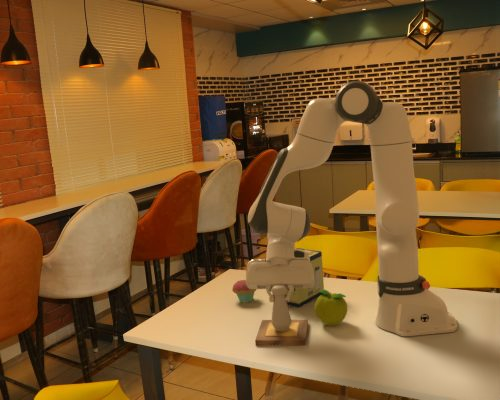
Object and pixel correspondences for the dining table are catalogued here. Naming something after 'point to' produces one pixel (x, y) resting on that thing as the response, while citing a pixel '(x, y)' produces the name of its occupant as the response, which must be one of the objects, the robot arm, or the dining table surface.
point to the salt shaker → (280, 309)
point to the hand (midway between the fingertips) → (279, 301)
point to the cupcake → (243, 291)
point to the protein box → (309, 294)
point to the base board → (282, 334)
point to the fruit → (331, 308)
